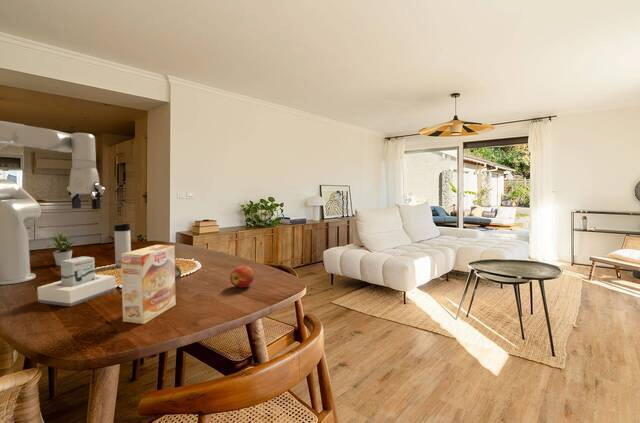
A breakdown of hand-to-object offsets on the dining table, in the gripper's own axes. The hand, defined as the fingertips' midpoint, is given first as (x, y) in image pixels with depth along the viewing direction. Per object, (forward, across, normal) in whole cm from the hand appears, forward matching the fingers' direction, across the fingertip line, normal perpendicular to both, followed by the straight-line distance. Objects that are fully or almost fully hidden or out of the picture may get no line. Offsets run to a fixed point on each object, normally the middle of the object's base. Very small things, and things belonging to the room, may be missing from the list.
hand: (86, 208), depth 129 cm
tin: (+29, +33, 0) cm, 44 cm away
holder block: (+28, +15, -17) cm, 36 cm away
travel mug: (+28, -3, +20) cm, 35 cm away
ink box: (+28, +15, -17) cm, 36 cm away
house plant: (+28, -33, +14) cm, 46 cm away
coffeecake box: (+28, +49, -23) cm, 61 cm away
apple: (+28, +64, +7) cm, 70 cm away
